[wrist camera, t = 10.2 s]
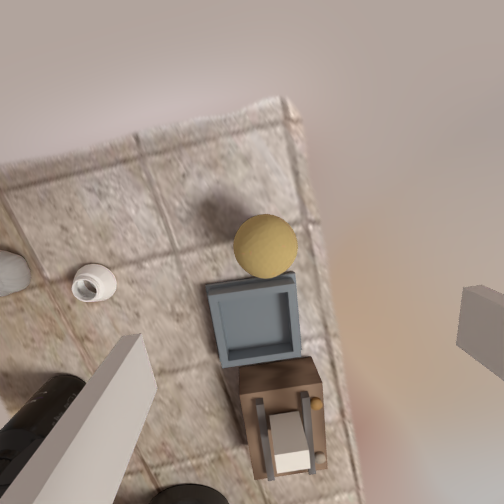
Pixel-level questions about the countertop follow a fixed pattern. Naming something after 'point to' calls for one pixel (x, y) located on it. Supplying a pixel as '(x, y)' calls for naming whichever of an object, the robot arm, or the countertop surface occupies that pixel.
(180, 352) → the countertop surface
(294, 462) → the toggle
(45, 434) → the supplement bottle
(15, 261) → the garlic
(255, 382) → the switch box
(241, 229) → the light bulb
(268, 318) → the tray
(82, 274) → the white conical ring
